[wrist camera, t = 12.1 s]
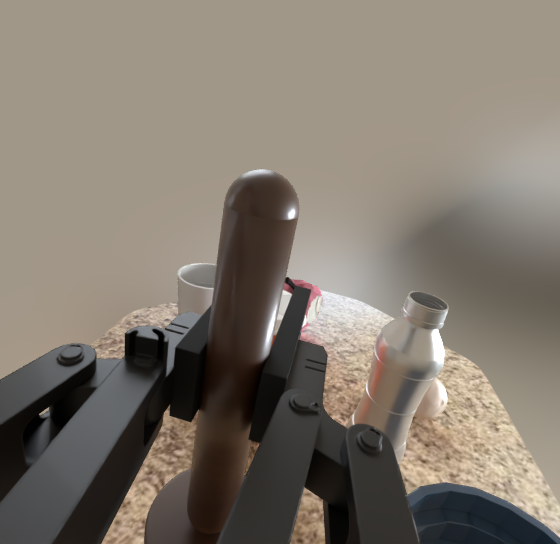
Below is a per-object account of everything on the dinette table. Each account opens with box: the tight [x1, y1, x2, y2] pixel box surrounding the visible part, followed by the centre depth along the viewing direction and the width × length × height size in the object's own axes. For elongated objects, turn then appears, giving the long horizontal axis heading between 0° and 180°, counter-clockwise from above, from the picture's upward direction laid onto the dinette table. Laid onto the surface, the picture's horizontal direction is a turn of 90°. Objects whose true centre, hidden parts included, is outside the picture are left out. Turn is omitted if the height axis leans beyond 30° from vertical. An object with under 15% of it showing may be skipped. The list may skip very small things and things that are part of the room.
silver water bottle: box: [346, 291, 449, 465], centre depth 35 cm, size 6×7×20 cm
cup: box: [178, 263, 216, 316], centre depth 49 cm, size 8×8×12 cm
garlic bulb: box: [413, 378, 447, 420], centre depth 46 cm, size 7×6×8 cm
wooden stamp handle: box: [144, 169, 299, 544], centre depth 12 cm, size 5×5×16 cm
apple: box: [283, 277, 323, 332], centre depth 58 cm, size 10×9×10 cm
